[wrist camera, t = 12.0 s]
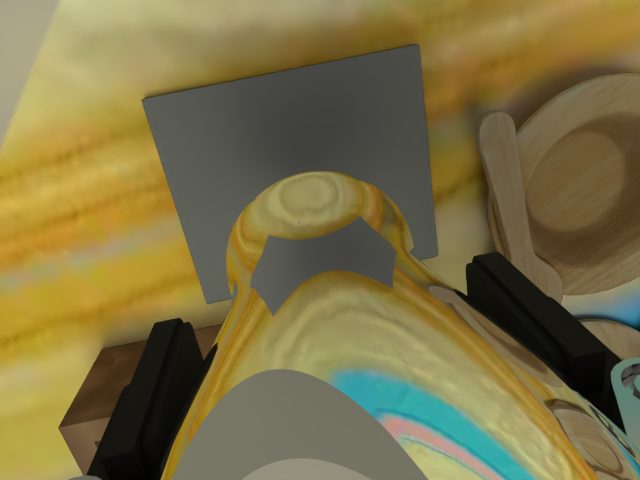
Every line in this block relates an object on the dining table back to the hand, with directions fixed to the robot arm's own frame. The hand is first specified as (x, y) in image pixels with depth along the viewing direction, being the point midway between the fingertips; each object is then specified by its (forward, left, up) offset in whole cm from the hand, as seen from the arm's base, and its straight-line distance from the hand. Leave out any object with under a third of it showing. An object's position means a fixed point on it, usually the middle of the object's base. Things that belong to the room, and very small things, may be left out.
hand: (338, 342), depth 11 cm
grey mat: (0, 0, -14) cm, 14 cm away
